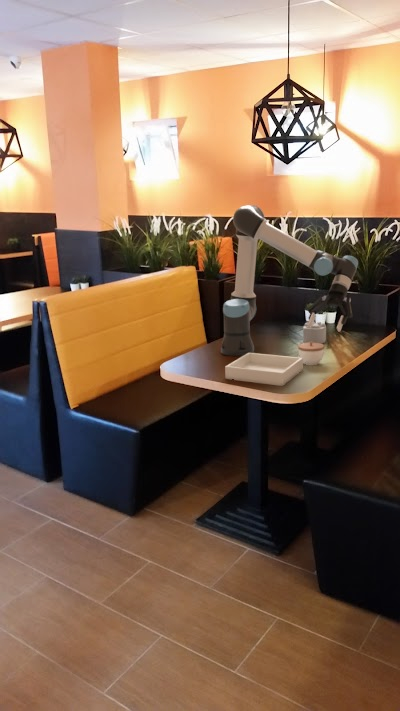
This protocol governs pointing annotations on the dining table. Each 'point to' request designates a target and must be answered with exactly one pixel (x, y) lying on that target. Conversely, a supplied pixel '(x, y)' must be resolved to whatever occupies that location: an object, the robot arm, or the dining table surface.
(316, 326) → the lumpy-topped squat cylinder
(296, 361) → the cream square tray
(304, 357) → the lidded jar
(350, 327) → the dining table surface
